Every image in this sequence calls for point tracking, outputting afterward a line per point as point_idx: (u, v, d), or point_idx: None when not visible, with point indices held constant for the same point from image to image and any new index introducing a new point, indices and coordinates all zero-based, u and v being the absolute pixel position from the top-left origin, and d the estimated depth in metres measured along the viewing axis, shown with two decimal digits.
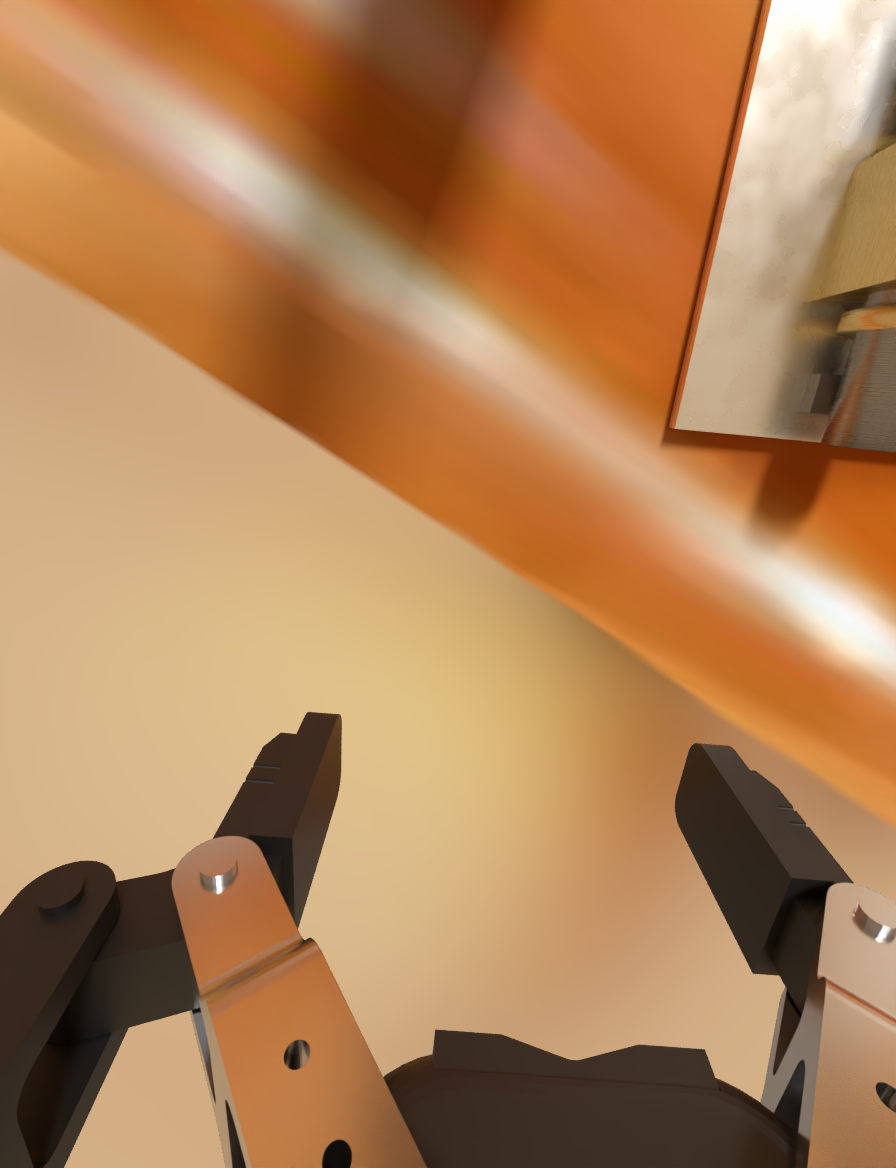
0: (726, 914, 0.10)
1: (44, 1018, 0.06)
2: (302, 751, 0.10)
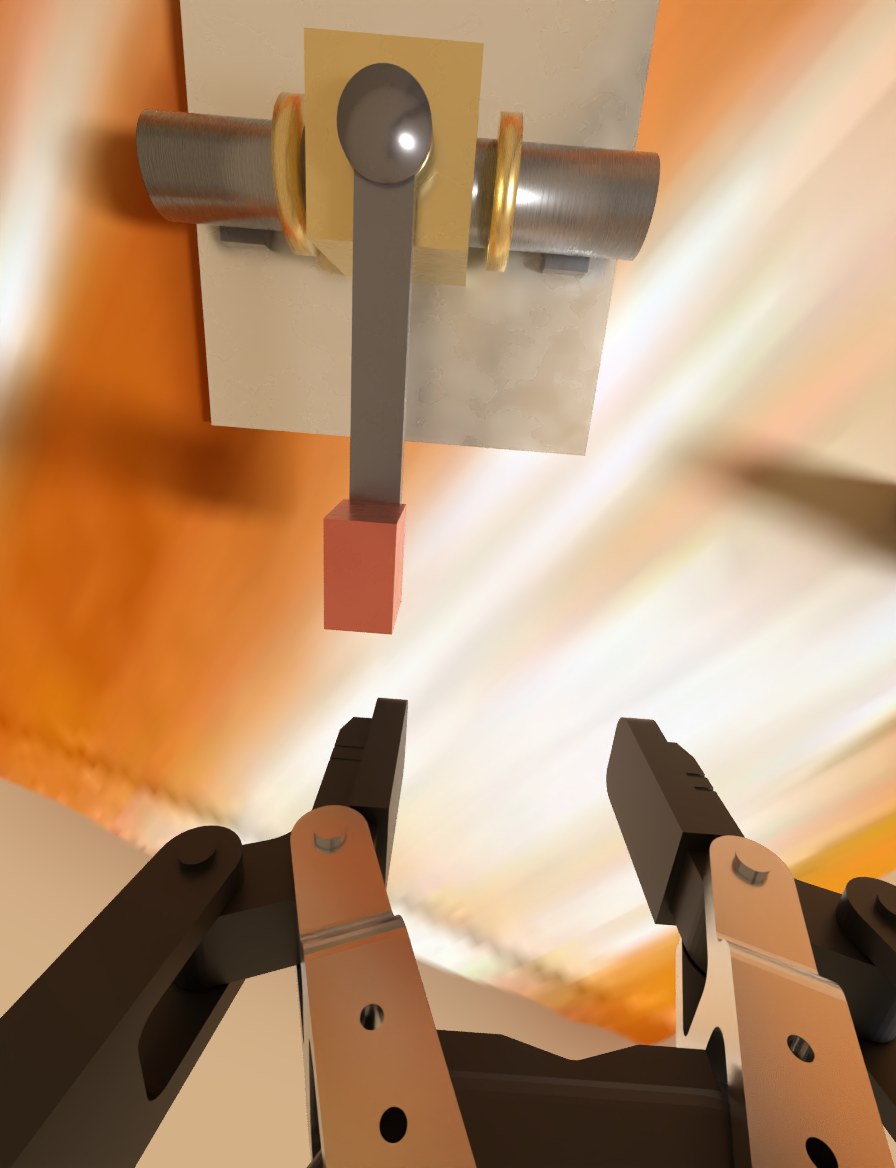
0: (638, 873, 0.11)
1: (169, 965, 0.06)
2: (381, 732, 0.11)
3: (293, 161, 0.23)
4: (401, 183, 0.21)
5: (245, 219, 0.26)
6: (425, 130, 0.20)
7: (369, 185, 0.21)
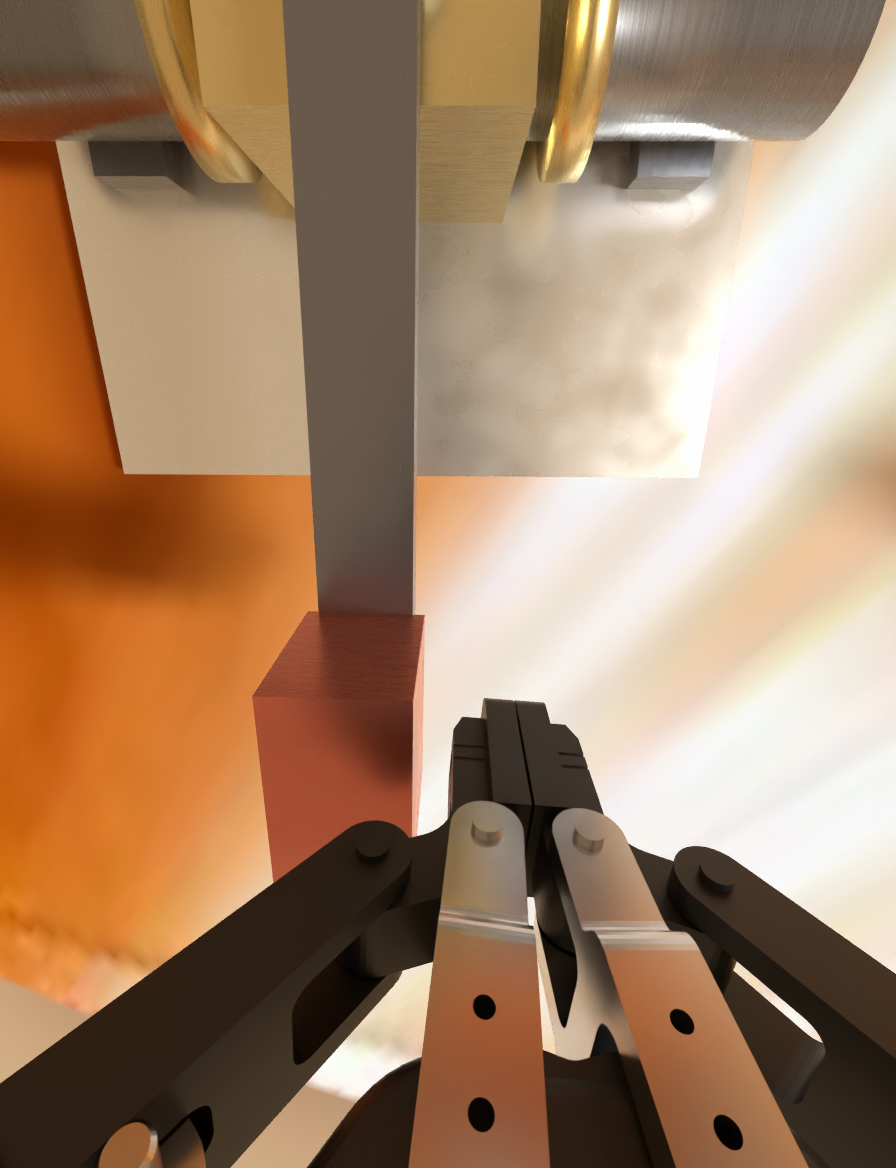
0: None
1: (329, 946, 0.07)
2: (499, 732, 0.11)
3: None
4: None
5: (113, 117, 0.15)
6: None
7: None
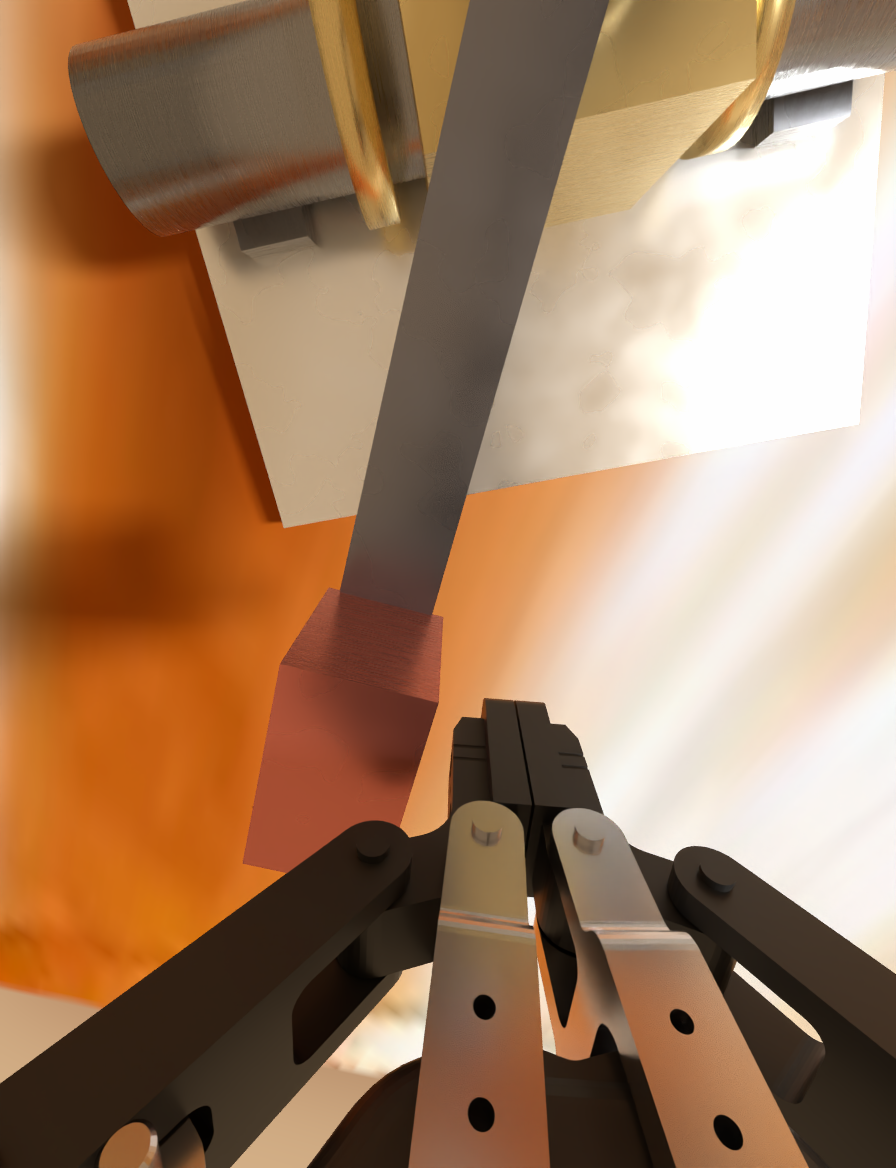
0: None
1: (329, 946, 0.07)
2: (500, 732, 0.11)
3: (356, 29, 0.12)
4: None
5: (281, 189, 0.15)
6: None
7: None
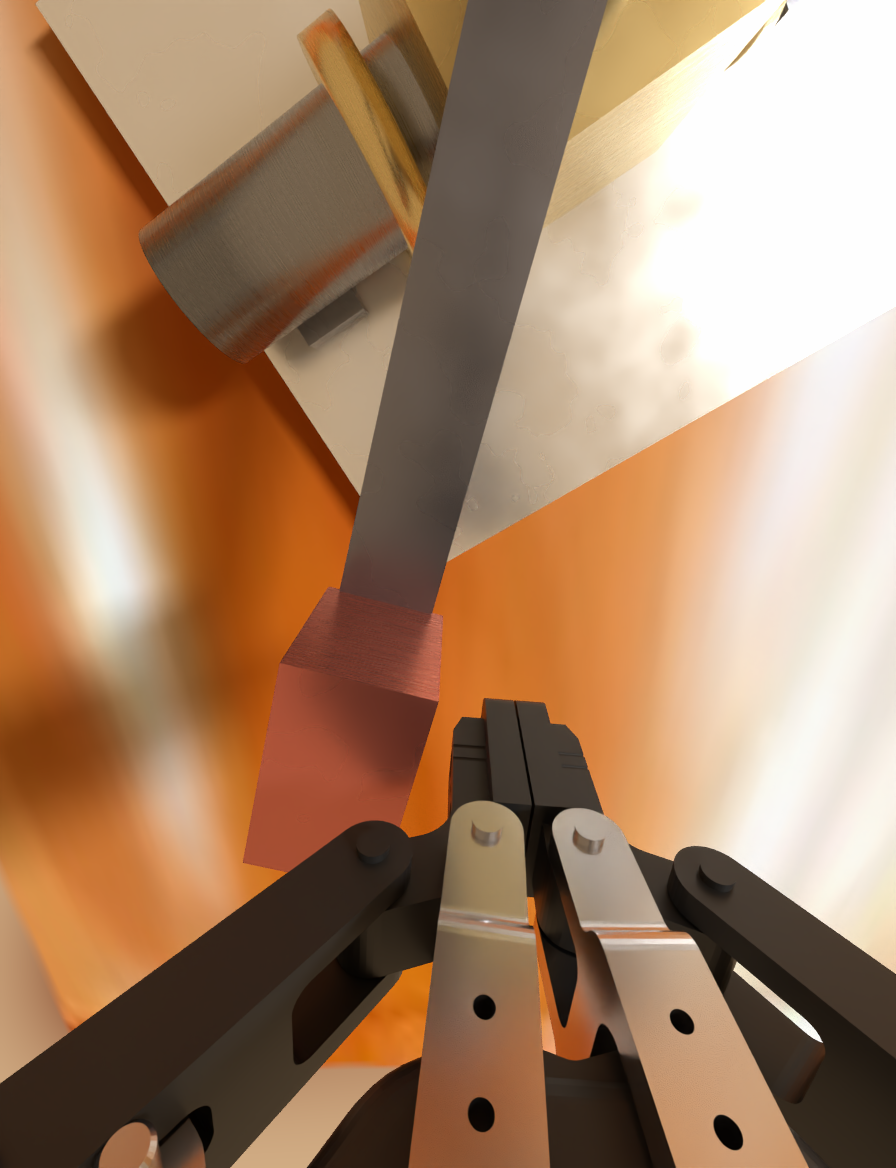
0: None
1: (329, 946, 0.07)
2: (499, 732, 0.11)
3: (386, 106, 0.13)
4: None
5: (342, 277, 0.16)
6: None
7: None
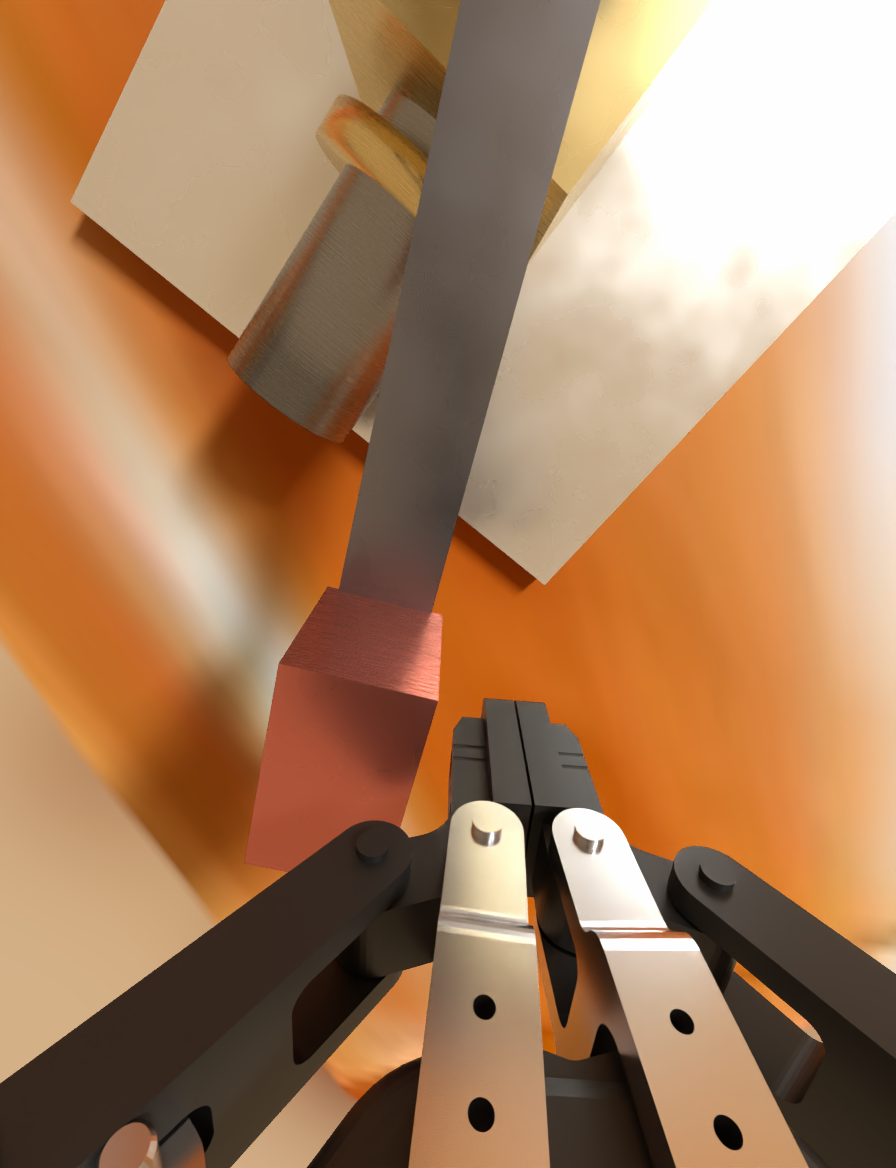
0: None
1: (329, 947, 0.07)
2: (500, 732, 0.11)
3: (427, 160, 0.13)
4: None
5: None
6: None
7: None
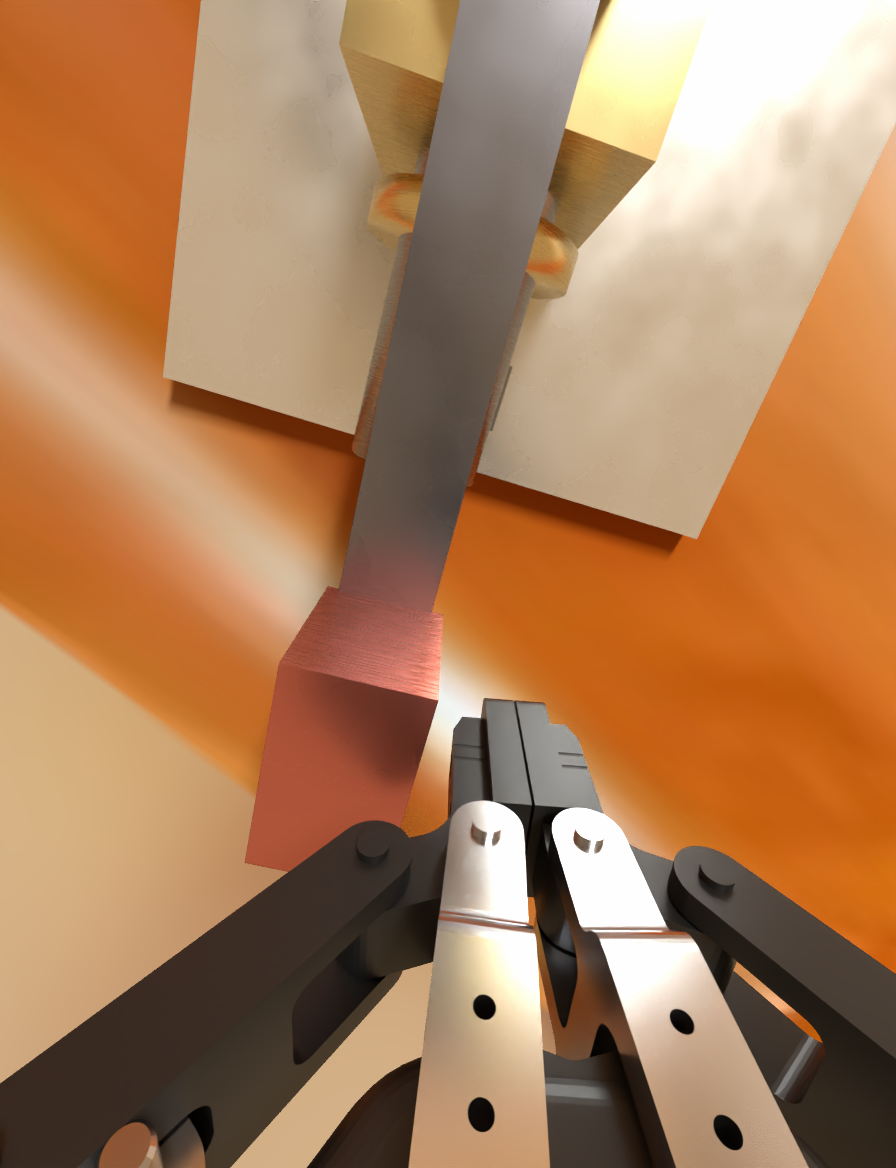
0: None
1: (329, 946, 0.07)
2: (499, 732, 0.11)
3: None
4: None
5: (510, 354, 0.17)
6: None
7: None
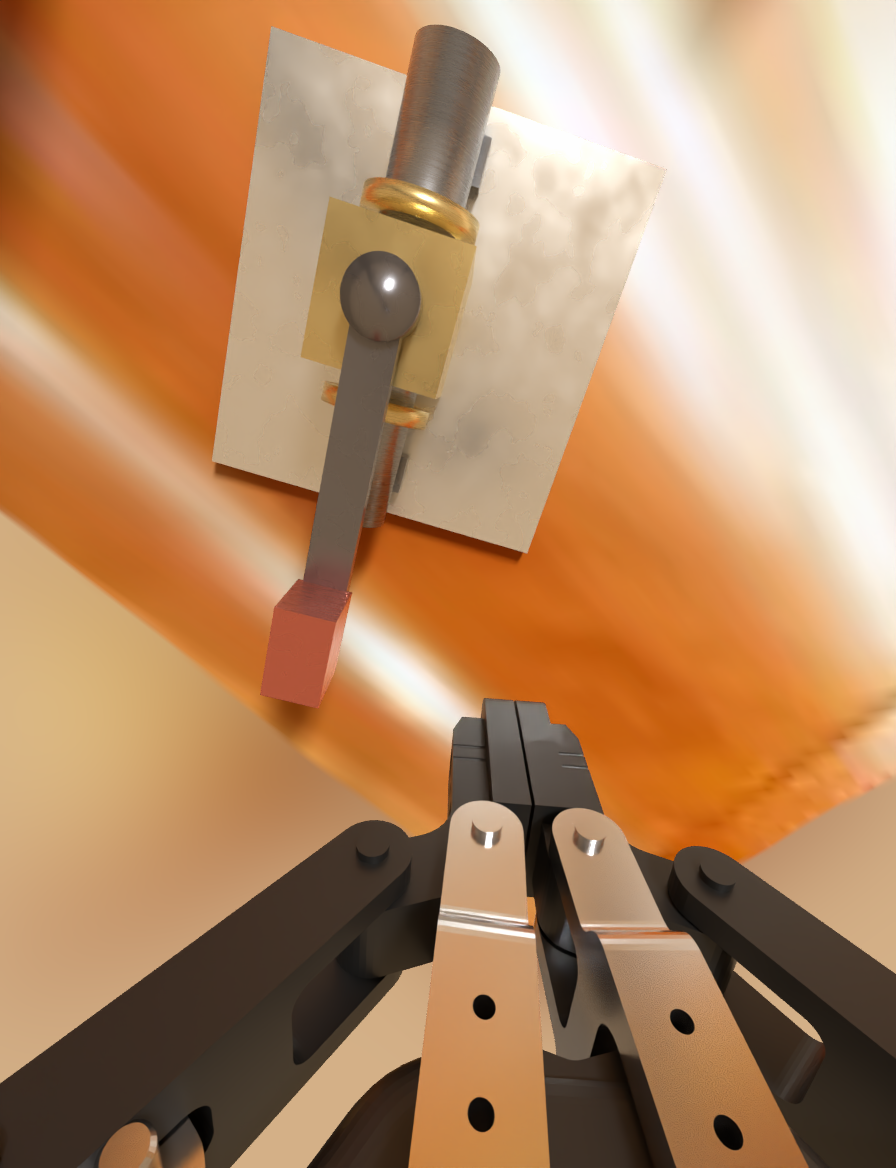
0: None
1: (329, 946, 0.07)
2: (499, 731, 0.11)
3: None
4: (388, 341, 0.25)
5: (396, 460, 0.32)
6: (413, 309, 0.24)
7: (360, 338, 0.25)
